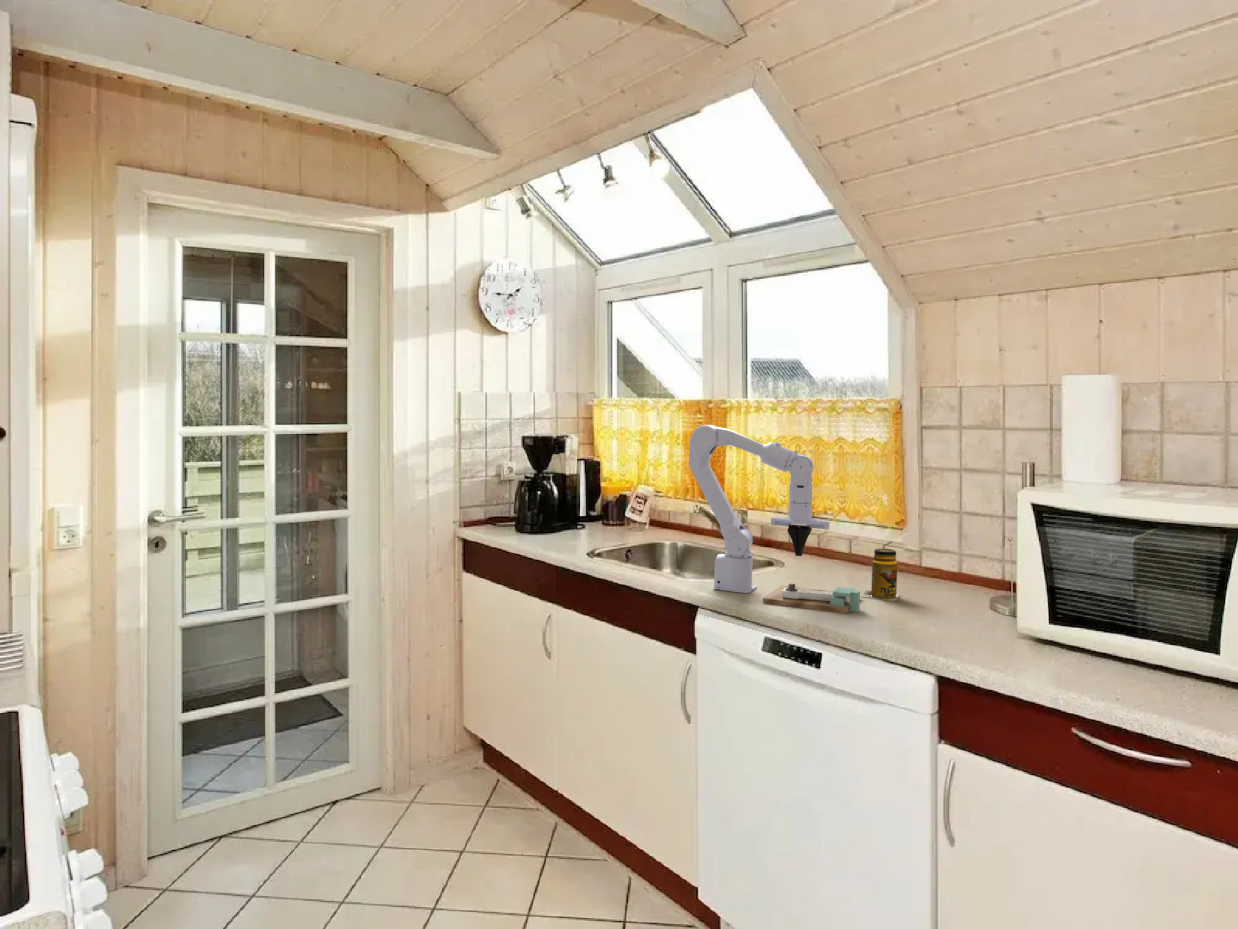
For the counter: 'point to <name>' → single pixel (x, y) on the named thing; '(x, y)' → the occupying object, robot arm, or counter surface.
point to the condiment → (883, 575)
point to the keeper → (846, 592)
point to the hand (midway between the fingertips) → (798, 555)
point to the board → (803, 600)
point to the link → (810, 595)
